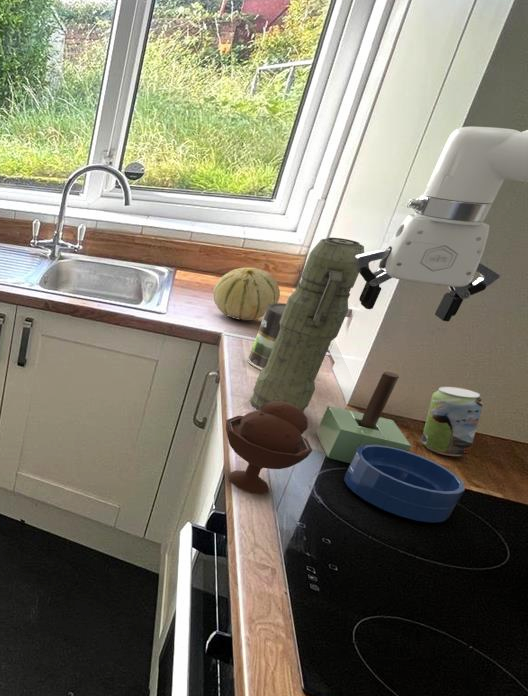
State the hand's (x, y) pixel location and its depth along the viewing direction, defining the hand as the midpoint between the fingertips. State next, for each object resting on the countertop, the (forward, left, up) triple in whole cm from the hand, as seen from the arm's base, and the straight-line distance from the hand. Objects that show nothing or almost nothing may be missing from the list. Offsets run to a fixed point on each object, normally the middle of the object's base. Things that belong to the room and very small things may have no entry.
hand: (402, 312), depth 96 cm
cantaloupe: (+10, -66, -26) cm, 71 cm away
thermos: (+9, -9, -26) cm, 29 cm away
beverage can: (-15, -8, -26) cm, 31 cm away
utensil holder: (-1, +2, -26) cm, 26 cm away
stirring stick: (-1, +2, -26) cm, 26 cm away
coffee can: (+6, -33, -26) cm, 42 cm away
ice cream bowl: (+17, +23, -26) cm, 39 cm away
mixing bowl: (-3, +15, -26) cm, 31 cm away
